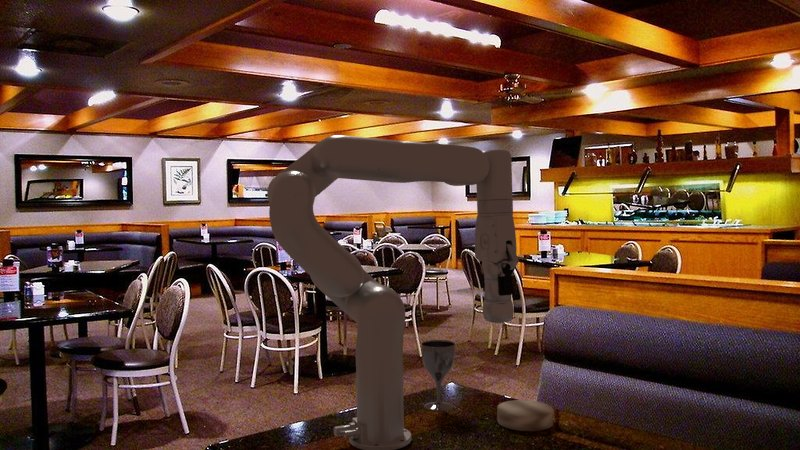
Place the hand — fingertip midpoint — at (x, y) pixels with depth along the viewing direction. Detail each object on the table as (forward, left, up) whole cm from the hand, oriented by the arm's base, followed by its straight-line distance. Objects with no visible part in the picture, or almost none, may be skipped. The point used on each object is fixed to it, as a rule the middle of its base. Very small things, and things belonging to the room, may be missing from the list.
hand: (497, 292), depth 143 cm
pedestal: (+7, 0, -29) cm, 30 cm away
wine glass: (-5, +18, -29) cm, 35 cm away
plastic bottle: (0, 0, -7) cm, 7 cm away
